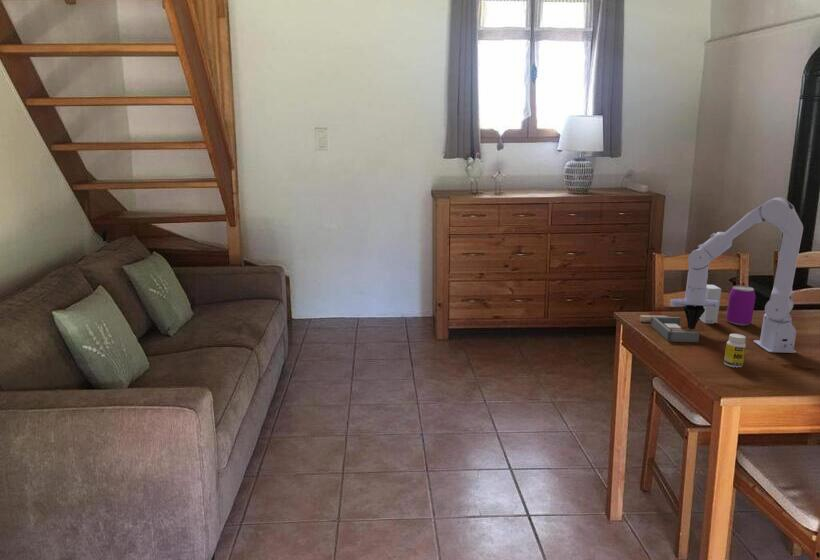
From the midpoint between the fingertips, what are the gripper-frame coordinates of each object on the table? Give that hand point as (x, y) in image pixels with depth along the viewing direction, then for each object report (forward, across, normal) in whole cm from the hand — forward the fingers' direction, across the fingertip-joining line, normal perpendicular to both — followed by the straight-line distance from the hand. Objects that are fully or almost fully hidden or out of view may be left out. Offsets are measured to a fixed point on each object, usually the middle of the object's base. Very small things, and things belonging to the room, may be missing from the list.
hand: (691, 328), depth 205 cm
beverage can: (+1, -20, -10) cm, 23 cm away
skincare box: (+1, -10, -12) cm, 15 cm away
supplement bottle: (+1, 0, +29) cm, 29 cm away
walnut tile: (+1, +6, +6) cm, 8 cm away
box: (+1, +7, +3) cm, 7 cm away
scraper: (+1, +7, -10) cm, 12 cm away
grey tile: (+1, +6, 0) cm, 6 cm away
